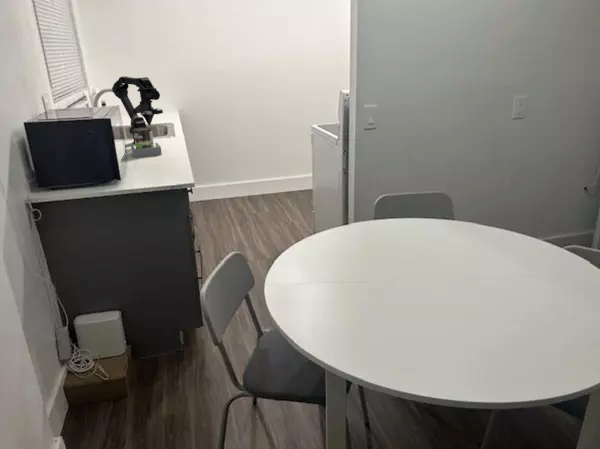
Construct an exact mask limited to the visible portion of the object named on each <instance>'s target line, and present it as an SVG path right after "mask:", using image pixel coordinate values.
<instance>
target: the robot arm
mask: <svg viewBox="0 0 600 449" xmlns="http://www.w3.org/2000/svg"><path fill="white" fill-rule="evenodd" d="M129 85H132V86H133V85H134V86H136V88H138V89H137V90H136V91H137V92H139V95H140V96H139V97H140V101H139V104H138V105H137V106H135V107H134V106H133V103H132V102H131V99H130V97H129V90H128V89H129ZM111 91H112V92H113V95H114V96H115V97H116V98H118V99H119V100H120V101H121V103H122V105H123V107H124V109H125V111H126V113H127V114H128V117H129V118H130V128H129V130H128V131H129V134H131V135H132V139H133V142H132V144H135V139H134V132H133V129H135V128H143V127H147V126H151V125H152V122H153V119H154V116H155V115H161V114H163V113H164V112H163V111H164V110H163V109H162V108H157V107H156V108H154V107H152V103H153V101H158V100H159V99H160V98H161V94H160V92H159V90H157V88H156V87H155V86H154V85H153V84H152V82H151V79H150V78H149V77H145V76H144V77H131V76H125V75H124V76H120V77H119V78H118V79H117V81H115V82H114V83H113V86H112V88H111ZM138 114H140V116H139V115H138Z"/></svg>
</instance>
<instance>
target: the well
mask: <svg viewBox="0 0 600 449" xmlns="http://www.w3.org/2000/svg"><path fill="white" fill-rule="evenodd" d="M130 148H131V149H130V150H131V154H132V157H133V158H144V157H152V156H153V157H154V156H162V155H163V154H162V153H163V152H162V146H161V145H160V144H159V143H158V142H155V143H154V147H150V148H140V149H136V147H134V145H133V144H131V145H130Z"/></svg>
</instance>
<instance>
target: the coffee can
mask: <svg viewBox="0 0 600 449" xmlns="http://www.w3.org/2000/svg"><path fill="white" fill-rule="evenodd" d="M133 132H134V139H135V143H134V145H135V149H140V148H150V147H155V143H154V135H153V128H152V127H147V126H146V127H143V128H135V129H133Z"/></svg>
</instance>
